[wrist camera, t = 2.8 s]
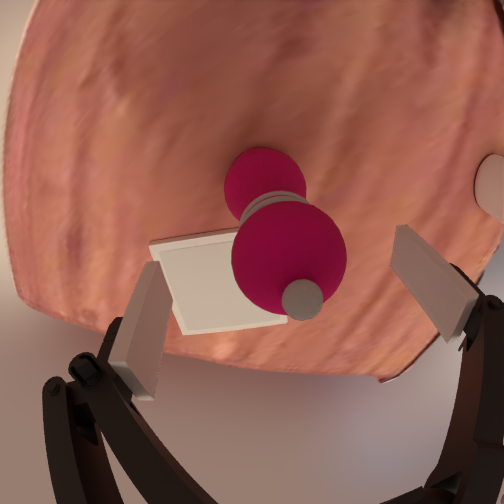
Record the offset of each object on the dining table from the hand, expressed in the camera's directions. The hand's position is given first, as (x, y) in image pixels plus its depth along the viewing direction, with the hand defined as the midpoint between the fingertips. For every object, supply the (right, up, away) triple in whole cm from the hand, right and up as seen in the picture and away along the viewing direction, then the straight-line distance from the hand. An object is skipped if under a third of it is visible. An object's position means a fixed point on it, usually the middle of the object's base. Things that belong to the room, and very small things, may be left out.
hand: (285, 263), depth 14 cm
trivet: (-5, -3, +20) cm, 21 cm away
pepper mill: (-1, +9, +14) cm, 16 cm away
